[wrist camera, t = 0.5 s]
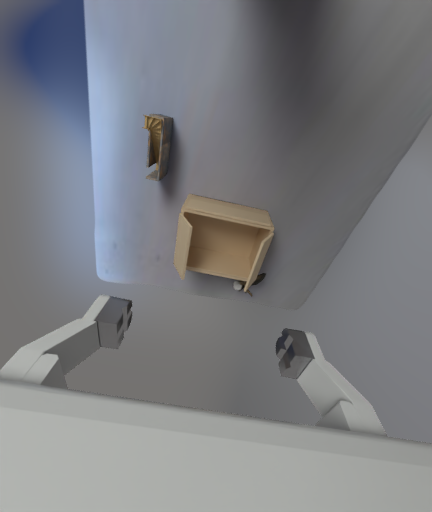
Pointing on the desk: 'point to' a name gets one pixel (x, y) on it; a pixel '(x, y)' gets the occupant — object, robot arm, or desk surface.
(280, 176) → the desk surface
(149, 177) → the miniature staircase model
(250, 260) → the carton
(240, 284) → the eagle figurine
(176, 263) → the flap
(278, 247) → the desk surface
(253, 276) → the flap
